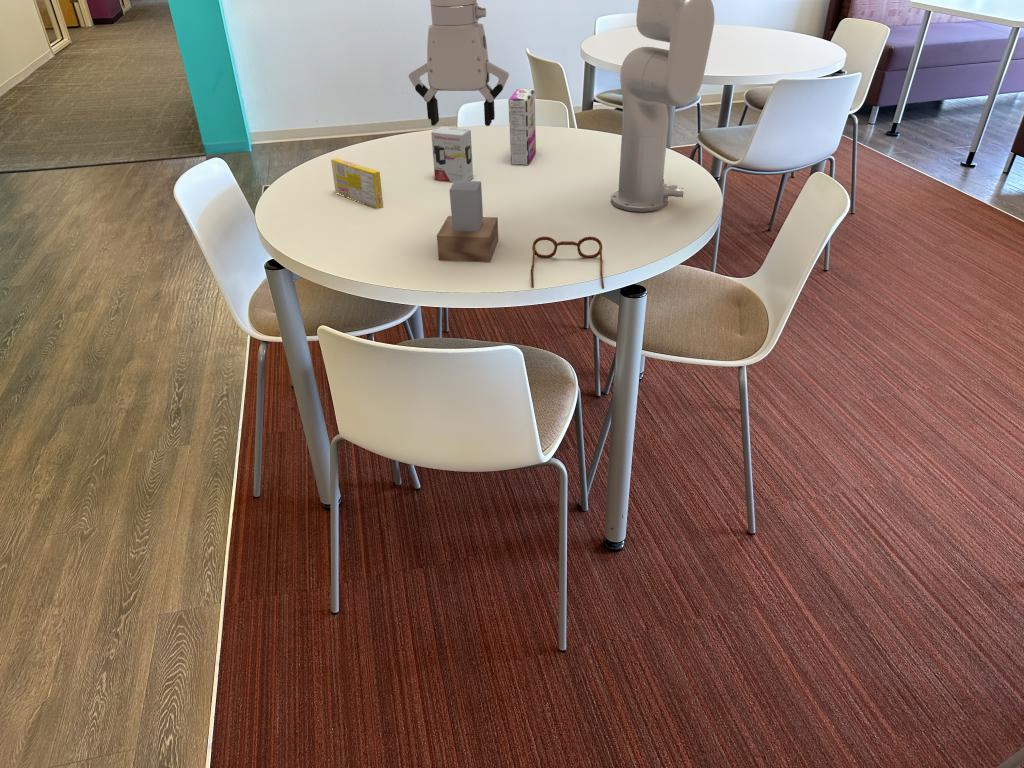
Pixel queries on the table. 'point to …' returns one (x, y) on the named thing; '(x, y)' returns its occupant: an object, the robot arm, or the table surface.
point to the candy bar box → (522, 126)
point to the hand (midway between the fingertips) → (461, 123)
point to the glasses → (566, 244)
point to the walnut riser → (468, 242)
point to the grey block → (466, 206)
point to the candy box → (357, 182)
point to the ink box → (452, 154)
